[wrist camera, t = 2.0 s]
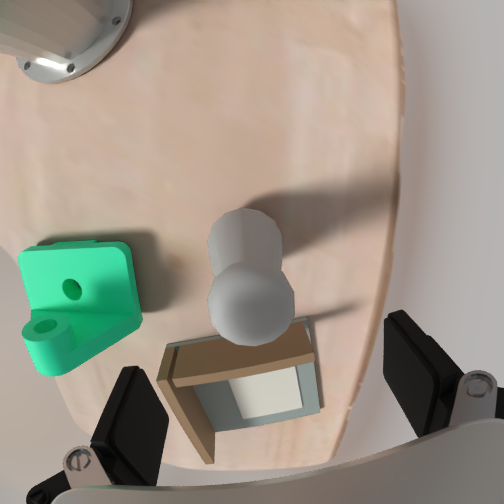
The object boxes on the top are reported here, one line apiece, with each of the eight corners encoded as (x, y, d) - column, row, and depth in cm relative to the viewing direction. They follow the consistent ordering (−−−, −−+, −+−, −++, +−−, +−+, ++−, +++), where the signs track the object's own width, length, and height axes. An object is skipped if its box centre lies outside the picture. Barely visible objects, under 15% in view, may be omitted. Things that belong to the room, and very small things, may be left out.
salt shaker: (224, 192, 25) (214, 237, 13) (288, 216, 26) (336, 280, 14) (200, 256, 27) (176, 346, 14) (262, 277, 28) (283, 376, 15)
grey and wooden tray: (166, 344, 29) (156, 381, 24) (306, 316, 29) (320, 350, 24) (207, 429, 34) (205, 464, 29) (319, 408, 34) (329, 443, 29)
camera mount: (133, 237, 26) (84, 286, 16) (145, 313, 28) (113, 384, 19) (29, 243, 25) (-34, 284, 16) (47, 310, 28) (-2, 365, 18)
